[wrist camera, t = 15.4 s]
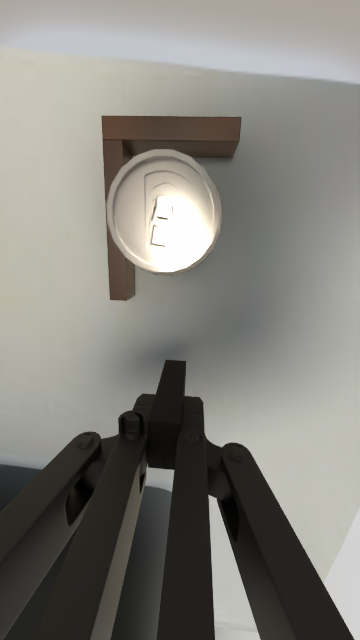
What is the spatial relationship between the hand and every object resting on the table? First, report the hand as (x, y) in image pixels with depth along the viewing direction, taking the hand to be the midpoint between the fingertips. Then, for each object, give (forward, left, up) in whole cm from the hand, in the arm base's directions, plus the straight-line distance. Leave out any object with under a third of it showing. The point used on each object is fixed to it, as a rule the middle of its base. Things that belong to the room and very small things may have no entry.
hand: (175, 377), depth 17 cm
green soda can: (+1, -10, -8) cm, 13 cm away
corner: (+1, -11, -7) cm, 14 cm away
